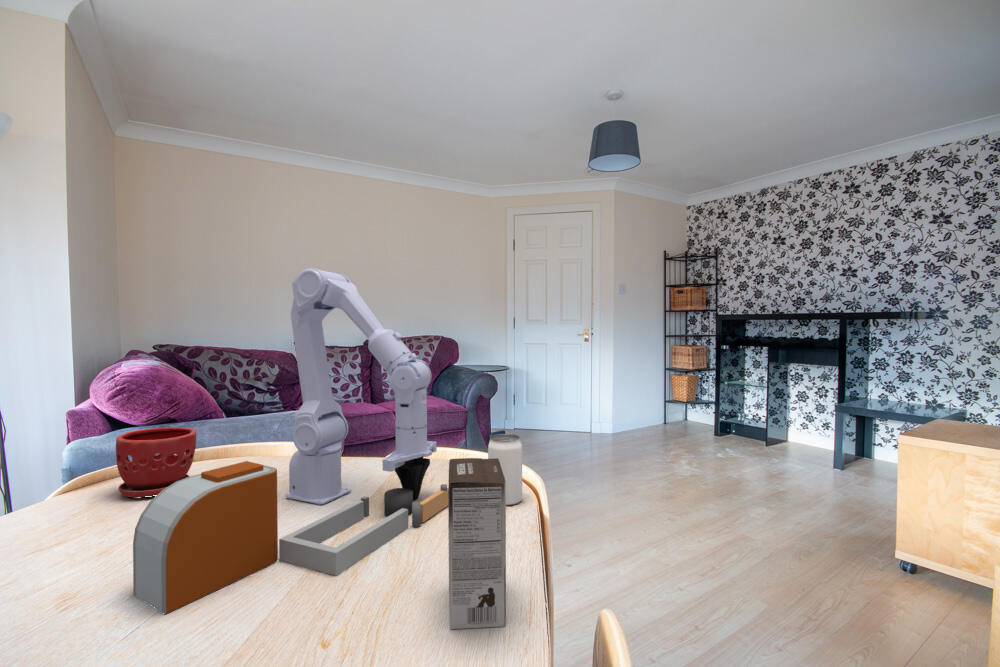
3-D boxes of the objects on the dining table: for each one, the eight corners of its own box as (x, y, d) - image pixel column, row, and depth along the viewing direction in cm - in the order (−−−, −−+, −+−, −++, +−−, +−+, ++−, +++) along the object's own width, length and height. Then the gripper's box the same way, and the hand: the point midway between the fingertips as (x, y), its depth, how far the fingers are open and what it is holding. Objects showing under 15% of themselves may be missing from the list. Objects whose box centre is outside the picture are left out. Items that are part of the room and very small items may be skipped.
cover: (443, 503, 85) (443, 483, 85) (450, 504, 85) (449, 484, 85) (410, 525, 76) (410, 502, 76) (417, 527, 75) (417, 504, 75)
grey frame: (279, 560, 65) (279, 537, 65) (364, 514, 81) (364, 496, 81) (336, 575, 61) (336, 551, 61) (413, 524, 77) (413, 504, 77)
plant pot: (115, 508, 84) (114, 443, 84) (117, 489, 94) (116, 431, 94) (200, 492, 92) (199, 433, 92) (193, 476, 103) (192, 423, 103)
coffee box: (449, 584, 58) (449, 457, 58) (500, 582, 59) (499, 456, 59) (447, 631, 49) (446, 481, 49) (507, 627, 50) (506, 479, 50)
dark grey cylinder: (378, 515, 80) (378, 495, 80) (395, 505, 85) (395, 486, 85) (402, 520, 78) (402, 499, 78) (418, 509, 83) (418, 490, 83)
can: (519, 507, 84) (519, 441, 84) (484, 505, 85) (484, 440, 85) (524, 495, 90) (524, 434, 90) (492, 493, 91) (492, 432, 91)
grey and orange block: (249, 545, 69) (248, 455, 69) (284, 559, 65) (283, 463, 65) (131, 594, 57) (130, 484, 57) (165, 615, 52) (164, 496, 52)
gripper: (406, 436, 77) (406, 517, 77) (449, 420, 90) (450, 489, 90) (372, 432, 80) (372, 511, 80) (419, 418, 93) (419, 485, 93)
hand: (411, 499), depth 85 cm, fingers closed
